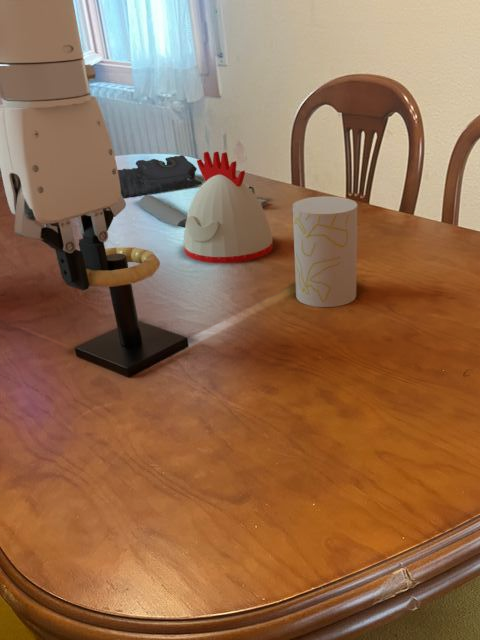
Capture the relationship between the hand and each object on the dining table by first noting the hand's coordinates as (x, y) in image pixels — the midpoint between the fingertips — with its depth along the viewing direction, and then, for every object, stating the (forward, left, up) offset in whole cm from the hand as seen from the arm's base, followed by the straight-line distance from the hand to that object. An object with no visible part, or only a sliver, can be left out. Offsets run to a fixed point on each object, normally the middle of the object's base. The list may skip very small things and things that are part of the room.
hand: (87, 281), depth 68 cm
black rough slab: (-59, +59, -10) cm, 84 cm away
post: (0, +4, -10) cm, 10 cm away
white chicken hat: (-14, +36, -10) cm, 40 cm away
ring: (0, +4, +1) cm, 4 cm away
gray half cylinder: (-38, +45, -10) cm, 60 cm away
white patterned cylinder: (+9, +30, -10) cm, 33 cm away
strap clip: (-28, +57, -10) cm, 64 cm away
